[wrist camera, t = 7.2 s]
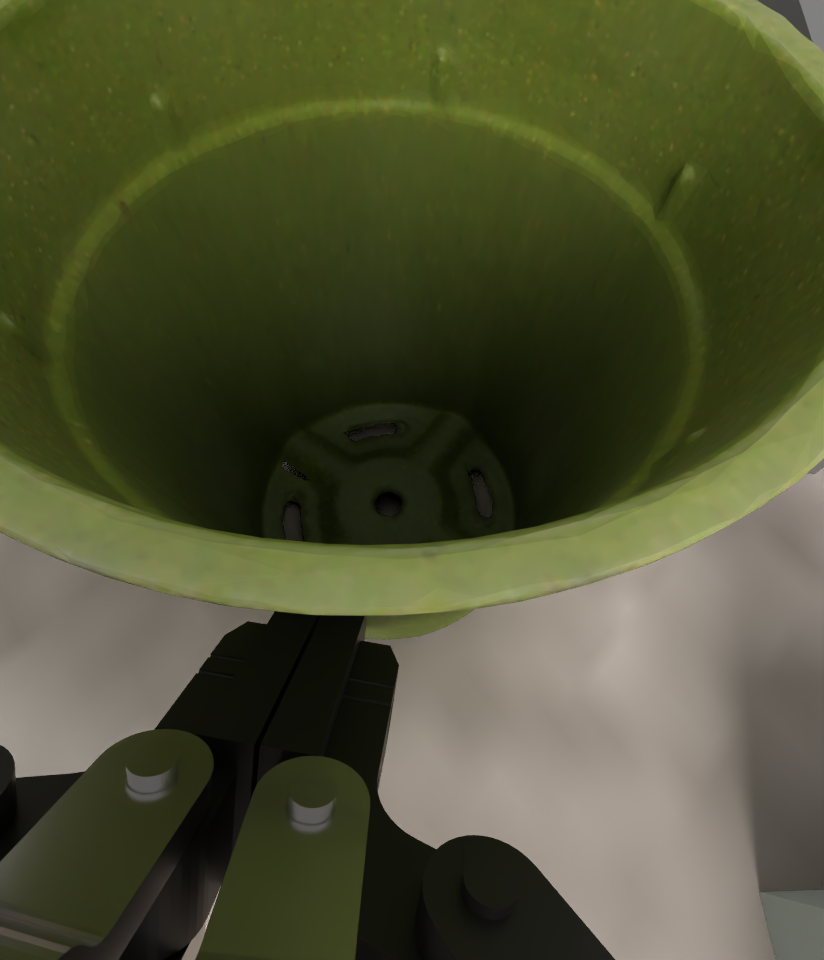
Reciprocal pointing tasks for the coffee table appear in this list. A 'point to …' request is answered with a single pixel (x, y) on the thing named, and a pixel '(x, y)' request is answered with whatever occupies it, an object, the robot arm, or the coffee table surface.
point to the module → (795, 923)
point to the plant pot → (403, 291)
